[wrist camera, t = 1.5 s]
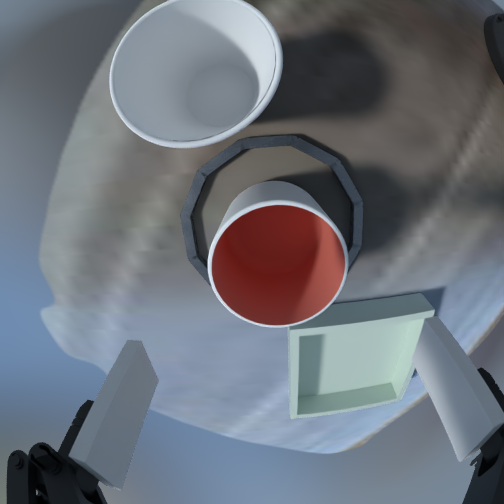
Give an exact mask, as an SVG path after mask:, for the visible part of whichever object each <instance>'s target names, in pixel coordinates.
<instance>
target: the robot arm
mask: <svg viewBox="0 0 504 504" xmlns="http://www.w3.org/2000/svg"><path fill="white" fill-rule="evenodd" d="M484 34H485V40H486V44H487V47H488V51H489V54H490V56H491V59H492V61H493V64H494V66H495V68H496V70H497V72H498V74H499V76H500V78H501V80H502V82H503V83H504V14H503V13H499V14H495V15H492V16H489V17H488V18H487V19H486V20H485V24H484ZM411 361H412V362H413V364H414V366H415V368H416V370H417V372H418V374H419V376H420V378H421V379H422V381H423V383H424V385H425V387H426V389H427V391H428V393H429V395H430V397H431V399H432V401H433V403H434V405H435V408H436V410H437V412H438V414H439V416H440V418H441V420H442V423H443V425H444V427H445V429H446V432H447V434H448V436H449V439H450V441H451V443H452V446H453V448H454V451H455V453H456V456H457V458H458V460H459V462H461V461H463V460H465V459H467V458H469V457H471V456H472V455H474V454H475V453H476V451H478V450H479V449H480V450H481V453H480V454H479V455H478V456H477V457H476V458H475V459H474V460H473V461H472V462H471V464H470V465H471V466H472V465H473V464H474V463H475V462H476V461H477V463H476V464H475V470H474V473H473V477H472V480H471V482H470V485H469V488H468V491H467V493H466V496H465V498H464V501H463V503H462V504H504V395H503V393H502V392H501V390H499V387H498V385H497V384H495V381H494V379H493V378H492V376H491V375H490V373H488V372H487V371H486V370H484V369H483V368H479V369H476V368H475V366H474V365H473V363H472V362H471V360H470V359H469V357H468V356H467V355H466V353H465V352H464V350H463V349H462V348H461V346H460V345H459V344H458V342H457V341H456V340H455V338H454V337H453V336H452V334H451V333H450V332H449V330H448V329H447V328H446V326H445V325H444V324H443V323H442V321H441V320H440V319H439V318H438V316H434V317H429V318H425V319H424V323H423V326H422V330H421V333H420V336H419V339H418V342H417V345H416V348H415V351H414V354H413V357H412V360H411ZM158 381H159V380H158V378H157V375H156V373H155V371H154V369H153V367H152V365H151V362H150V360H149V358H148V355H147V353H146V351H145V348H144V346H143V344H142V341H134V340H127V342H126V344H125V345H124V347H123V349H122V351H121V353H120V354H119V356H118V358H117V360H116V362H115V363H114V365H113V367H112V369H111V371H110V373H109V374H108V376H107V378H106V380H105V382H104V384H103V386H102V388H101V390H100V391H99V393H98V395H97V397H96V399H95V401H91V400H87V401H86V402H85V403H84V404H83V405H82V406H81V407H80V409H79V410H78V412H77V414H76V416H75V417H76V418H75V419H74V420H73V422H72V426H70V428H69V430H68V432H67V434H66V436H65V438H64V440H63V442H62V444H61V447H60V449H59V450H58V452H56V451H55V450H54V449H52V447H50V446H49V445H48V444H46V443H43V442H42V443H37V444H35V445H34V446H33V447H32V448H31V449H30V451H29V454H28V455H27V454H25V453H24V452H23V451H21V450H16V451H14V452H12V453H11V455H10V456H9V459H8V467H7V504H107V502H106V500H105V498H104V496H103V493H102V491H101V489H100V487H99V486H98V482H99V481H101V482H102V483H103V484H105V485H106V486H109V487H112V488H115V489H119V490H122V488H123V485H124V481H125V478H126V475H127V472H128V469H129V465H130V462H131V459H132V456H133V453H134V450H135V447H136V443H137V441H138V438H139V434H140V432H141V429H142V426H143V423H144V420H145V417H146V414H147V411H148V409H149V406H150V403H151V400H152V397H153V394H154V392H155V389H156V386H157V383H158ZM36 490H37V491H38V495H36Z"/></svg>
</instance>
